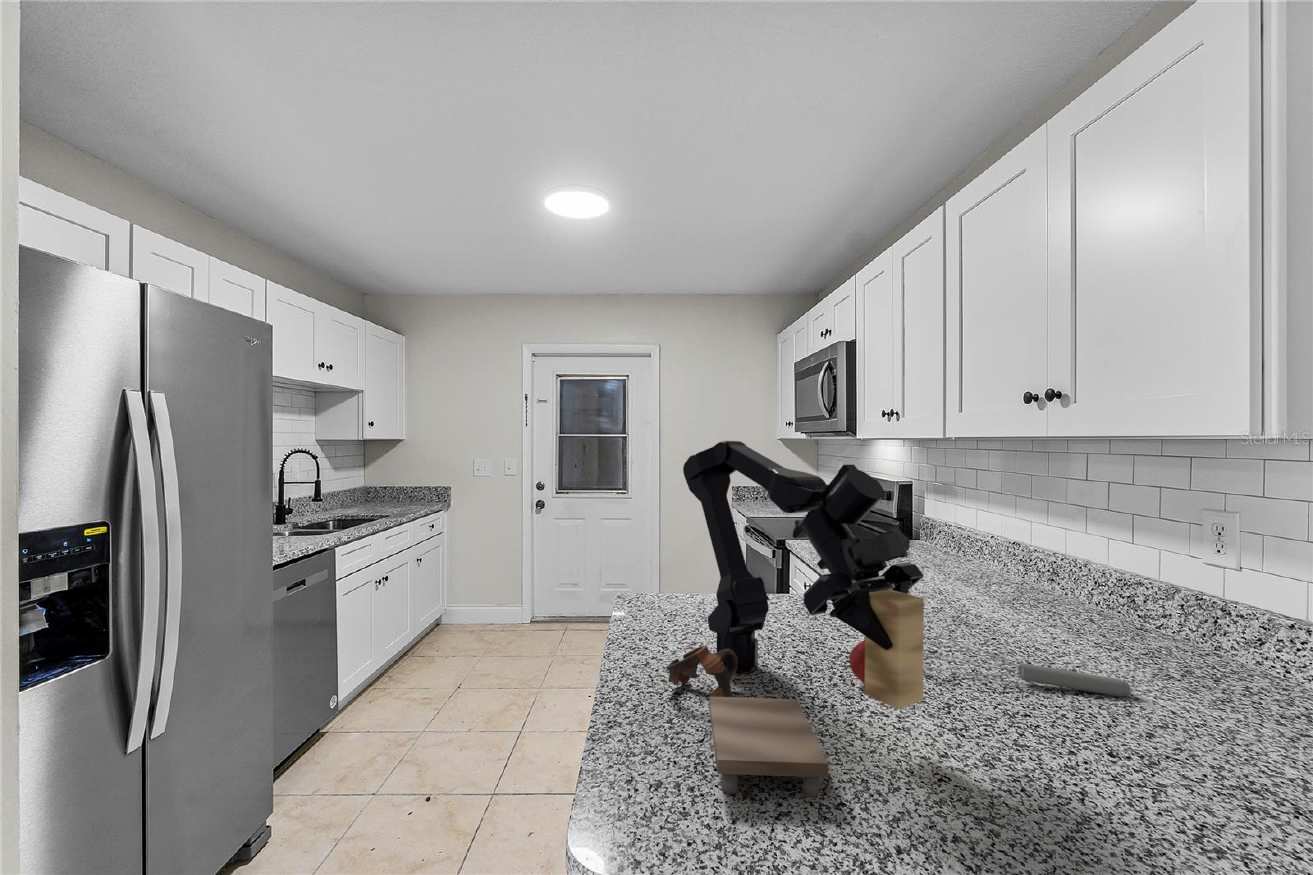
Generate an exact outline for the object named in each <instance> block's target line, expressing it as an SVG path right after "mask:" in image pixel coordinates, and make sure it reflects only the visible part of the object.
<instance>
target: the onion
mask: <svg viewBox="0 0 1313 875" xmlns="http://www.w3.org/2000/svg"><path fill="white" fill-rule="evenodd" d="M848 662H849V666H850V669H851V671H852V673H853V675H854V676H855V678H856V679H858V680H859V681H860V682H861V683H863V685H865V638H864V639H863V641H861V642H859V643H857V644H856V645H855V646H854V647H853V648H852V649H851V651H850V654H849V660H848Z"/></svg>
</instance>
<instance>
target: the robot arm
mask: <svg viewBox="0 0 1313 875" xmlns="http://www.w3.org/2000/svg"><path fill="white" fill-rule="evenodd" d="M736 471H737V472H738V473H740V474H741V475H742V476H744V477H746V478H748V479H749V480H751V481H753V482H754V483H755V484H757V485H758V486H761V487H762V488H763V489H764V490H765V491H766V492H767V494H768V499H770V501H771V502H772V503H773V504H775V506H777V508H778V509H780V510H781V511H782V512H783V513H785V514H800V513H802V514H803V513H806V514H805V516H804V517H803V518H802V519H797V520H795V521H794V528H793V531H792V538H793V539H801V538H807V540H808V541H809V543H810V544H811V546H812V547H813V549H814V550H815V551H816V553H817V556H819V558H820V560H819V561H818V562H817V563H816V565H817V566H818V568H819V570H828V572H829V573H827V574H826V573H825V574H822V575H820V576H819V578H817V579H816V580H815V581H814V582H813V584H812V585H810V587H808V588H807V590H806V591H804V593H803V604H804V606H805V608H806V610H807V612H808V613H809V615H810V616H815V615H816V616H817V615H821V614H826V612H828V607H829V604H828V601H831V602H832V603H831V605H832V607H833V609H832V610H831V611H829V613H828V614H829V616H830V618H836V619H838V620H839V621H841V622H843V623H845V624H846V625H848V626H849V627H851V628H853V629H854V630H855V631H858V633H860V634H861V635H863V636H864V637H865V636H866V637H867V638H869V639H870V640H872V641H873V642H875V643H876V644H878V645H879V646H881V647H882V648H883V649H885V650H889V649H890V648H892V646H893V645H892V643H891V641H890V639H889V636H888V634H887V633H886V631H885V629H884V628H883V626H882V624H881V622H880V621H879V619H878V617H877V616H876V614H875V612H874V611H873V609H872V607H871V605H870V595H869V593H873V592H879V591H884V590H894V591H898V592H902V593H906V594H909V590H910V589H912V588H913V587H914V586H915V585H916V584H917V583H918V582H920V581H921V580H922V579H923V578H924V574H923V572H922V571H921V570H920V569H919V567H918V566H917V564H915V563H910V562H904V563H896V564H891V566H889V567H888V565H887V562H889V561H893V560H896V559H897V558H901V559H904V558H906V557H908V556H909V554H908V551H909V550H910V544H911V541H910V539H909V538H908V537H907V536H906V535H905V533H904V532H902V531H901V530H900V529H899V528H889V530H888V531H883V532H882V533H881V534H878V535H877V534H876V535H875V536H872V537H870V538H867V539H866V538H864V537H855V536H854V534H853V532H852V531H851V530H850V529H849V527H848V526H847V524H848V525H852V526H853V525H854V526H856V525H857V524H859V523H861V521H862V520H863V519H864V518H865V517H866V516H867V515H868V513H869V512H870V511H871V510H872V509H873V508H874V507H875V506H876V505H877V504H878V503H879V502H880V501H881V500H882V499H883V498H884V496H885V491H884V488H883V486H882V485H881V483H880V482H879V480H877V479H875V478H873V477H872V476H871V475H870V474H868V473H866V472H865V471H862V470H860V469H858V467H856V465H855V464H842V466H841V467H840V469H839V470H838V471H837V473H836V475H835V476H834V477H833V478H832V480H831V481H830V483H829V484H827V483H826V482H825V480H824V479H822V478H821V477H820V476H819V475H815V474H812V473H808V472H805V471H801V470H794V469H791V468H786V467H784V466H783V465H782V464H781V465H780V464H779V463H777V462H776V461H773V460H772V459H770V458H769V457H766V456H765V455H763V454H761V453H759V452H758V451H755V450H754V449H752V448H751V447H749V446H747V444H745V442H743V441H740V440H721V441H719V442H718V443H716V444H715V445H713V446H711V447H709V448H707V449H704V450H701V451H699V452H696V453H694V454H691V455H690V456H689V457H688V458H687V459H686V461H685V462H684V464H683V468H682V473H683V476H684V479H685V481H686V484H687V487H688V490H689V491H690V493H691V494H693V495H694V497H695V498H696V499H697V500H698V501H699V502H700V503H701V507H702V511H703V515H704V517H705V522H706V526H707V530H708V534H709V537H710V541H711V545H712V549H713V553H714V557H715V560H716V564H717V569H718V572H719V577H720V579H719V583H718V587H717V591H716V600H717V601H716V602H717V605H716V607H715V608H714V609H713V611H712V612H711V613H709V615H708V617H707V622H708V623H707V624H708V629H709V630H710V631H711V632H714V633H715V634H716V653H717V652H719V651H721V650H723V649H730V650H732V651H733V652H734V653H735V654H736V656H737V659H738V667H737V670H736V672H739V673H744V674H751V673H752V671H753V670H754V668H755V667H756V666H757V664H758V662H759V640H758V638H756V631H762V630H763V629H764V625H765V622H766V618H767V614H768V612H769V602H768V601H770V597H769V595H768V594H767V592H766V588H765V583H764V582H765V581H764V579H763V578H762V577H761V576H758V577H757V576H756V577H755V576H754V575H753V574H752V573H751V572H750V571H749V569H748V567H747V564H746V560H745V556H744V552H743V549H742V546H741V542H740V538H739V535H738V531H737V528H736V525H735V524H736V523H735V521H734V517H733V514H732V511H731V506H730V503H729V500H728V491H729V489H730V484H731V475H733V473H735V472H736ZM887 567H888V568H887ZM886 568H887V569H886ZM885 569H886V570H885ZM884 570H885V571H884ZM882 571H884V572H883V573H882V574H881V575H880V574H879V573H880V572H882ZM723 664H724V666H725V669H727V666H728V659H727V658H725V659H724V662H723Z"/></svg>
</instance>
